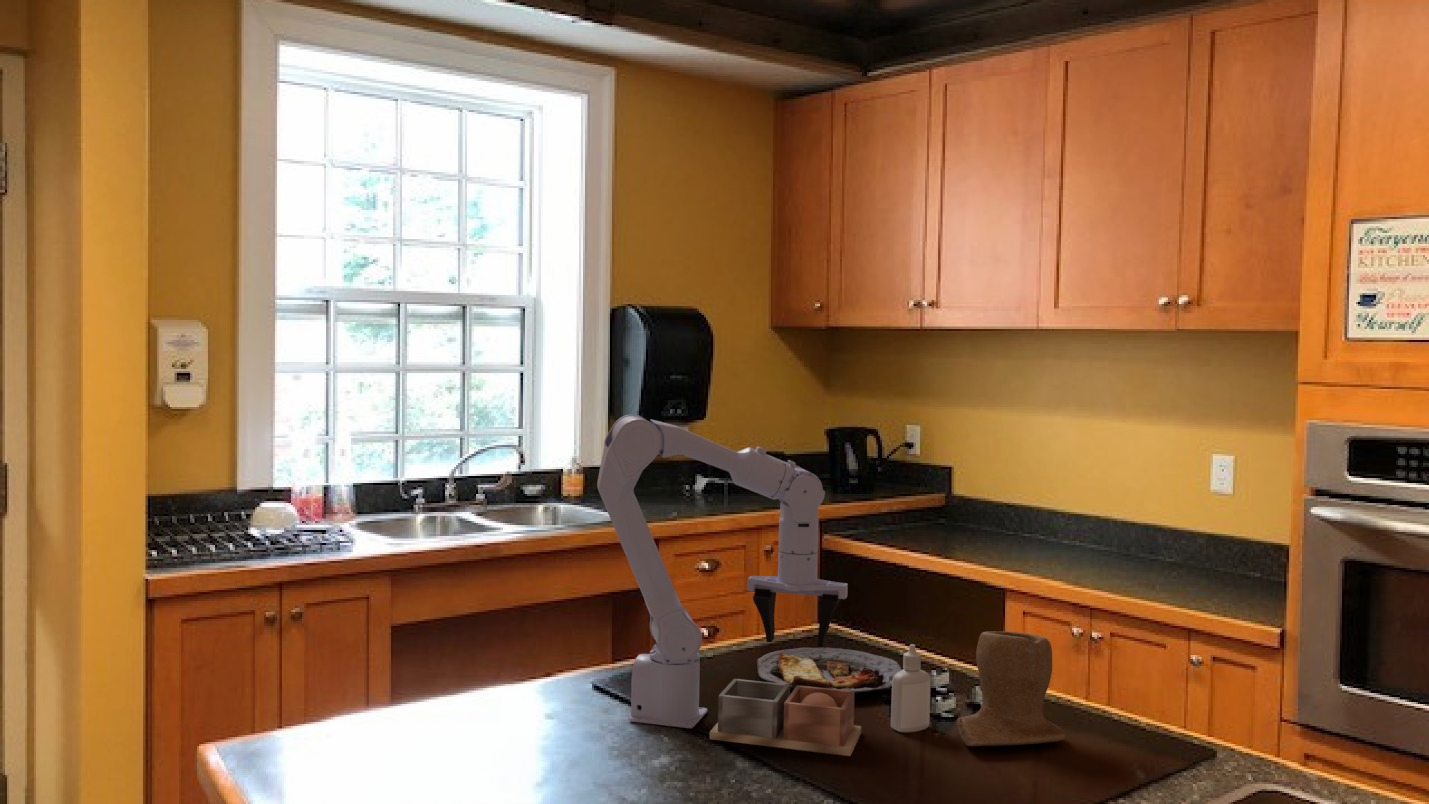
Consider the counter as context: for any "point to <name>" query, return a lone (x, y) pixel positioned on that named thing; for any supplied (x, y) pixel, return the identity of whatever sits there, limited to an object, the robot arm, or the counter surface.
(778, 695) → the sorting bin tray
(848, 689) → the food plate
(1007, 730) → the brown flared upright piece
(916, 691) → the eye dropper bottle
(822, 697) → the terracotta ball
